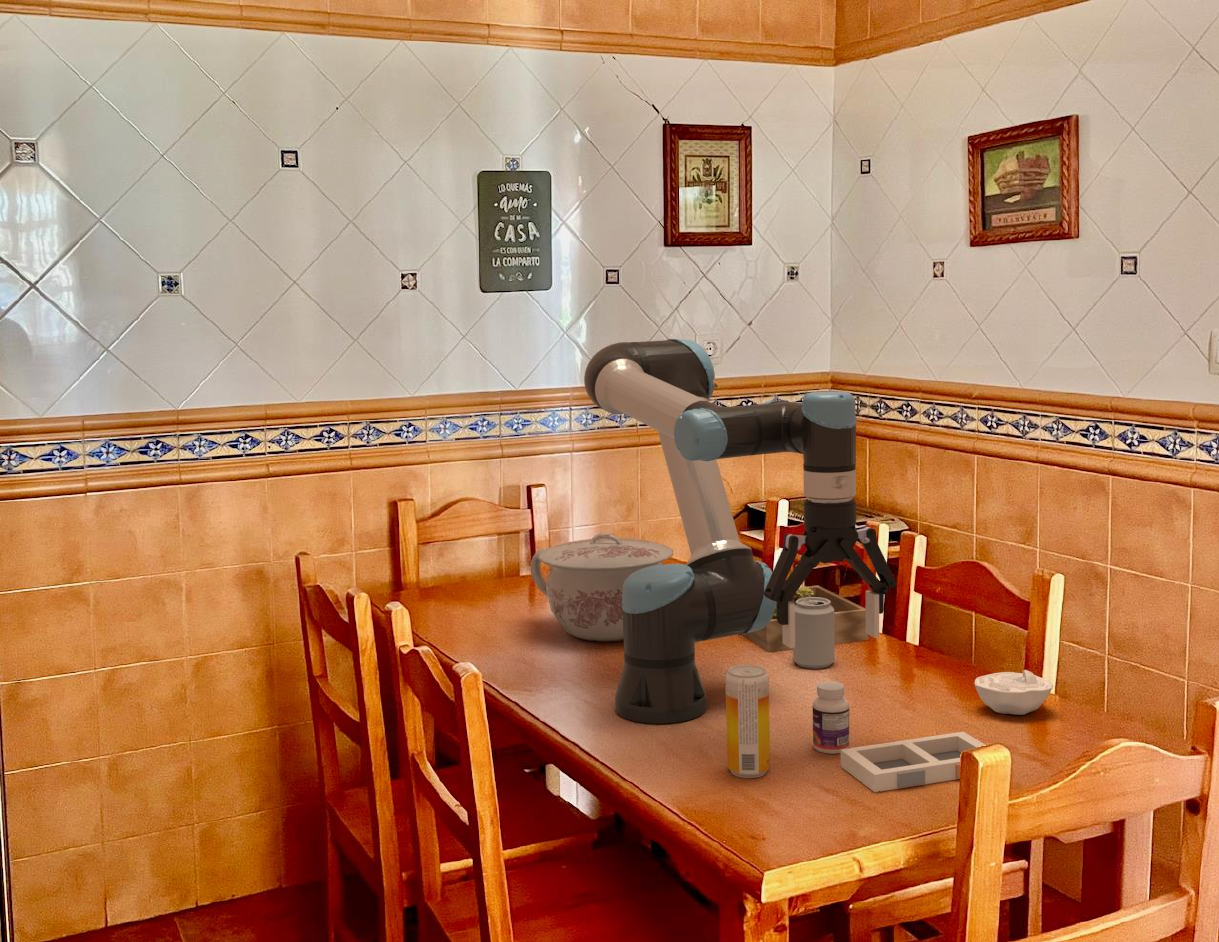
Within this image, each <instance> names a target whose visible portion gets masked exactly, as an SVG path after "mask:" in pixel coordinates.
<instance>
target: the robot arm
mask: <svg viewBox="0 0 1219 942" xmlns="http://www.w3.org/2000/svg"><path fill="white" fill-rule="evenodd" d="M715 375H716V374H715V369H714V365H713V362H712V360H711V358H710V356H709V354H708V352H707V351H706V349H705V348H704V347H703V346H702V345H700V344H699V343H698V342H695V341H693V340H691V339H677V338H670V339H669V338H668V339H666V340H650V341H648V340H647V341H645V340H644V341H630V342H627V341H624V342H615V343H612V344H609V345H607V346H604V347H603V348H601V349H599V350H598V352H596V353H595V354H593V356H592V357H591V359H590V360H589V362H588V364H587V366H586V368H585V371H584V375H583V376H584V377H583V378H584V379H583V380H584V381H583V382H584V383H583V384H584V388H585V391H586V394H587V396H588V398H589V399H590V400H591V402H592V403H594V405H595V406H597V407H598V408H600V409H601V410H603V411H605V412H607V413H609V414H612V415H626V416H629V417H630V418H632V419H634V420H636V421H638V422H640V423H642V424H644V425H645V426H648V427H649V428H652V429H653V430H656V431H657V432H658V433H657V434H658V436H659V437H658V438H659V441H660V446H661V448H662V452H663V455H664V459H665V462H666V467H667V471H668V474H669V477H670V478H669V479H670V481H671V486H672V489H673V494H674V495H675V500H676V504H677V507H678V510H679V515H680V518H681V522H682V525H683V529H684V533H685V536H686V540H687V544H688V547H689V551H690V557H689V559H688V560H687V562H686V563H685V564H681V563H668V564H663V563H661V565H655V566H650V567H646V568H643V569H640V570H638V571H636V572H634V573H632V574H631V575H629V576H628V578H627V579H626V580H625V581H624V584H623V593H622V603H621V606H622V609H623V636H624V640H623V657H624V662H623V663H624V664H623V668H622V672H621V675H620V677H619V678H620V679H619V681H618V684H617V689H616V692H615V697H614V704H615V705H614V707H615V708H614V709H615V712H616V714H617V715H618V716H620V717H622V718H624V719H627V720H629V721H633V722H637V723H643V724H644V723H645V724H675V723H680V722H686V721H690V720H692V719H696V718H699V716H701V715H703V714H704V713H705V712H706V711H707V710H708V709H707V706H708V705H707V701H708V700H707V693H706V690H705V687H704V684H703V682H702V678H701V676H700V674H699V670H698V667H697V664H696V653H695V648H696V647H695V643H699V642H705V641H710V640H716V639H721V638H727V637H734V636H744V635H745V634H747V633H749V632H754V631H758V630H761V629H763V628H764V627H765V626H767V625H768V623H769V622H770V621H771V619H772V617H773V615H774V610H775V608H776V603H777V621H778V623H779V624H781V625H782V635H783V644H784V645H786V646H788V647H789V648H795V604H794V603H792V602H790V600H791V599H792V597H793V596H794V594H795V593H796V592H797V590H798V589H799V587H802V586H803V584H804V582H805V581H806V579H807V578H808V576H809V575H810V573H811V572H812V571H813V569H814V568H817V567H818V565H819V564H820V563H822V564H830V563H832V562H837V563H839V562H844V560H846V561H847V562H848V564H849V565H850V566H851V567H852V568H853V569H854V571H855V572H856V573H857V574H858V575H859V577H860V578H862V580H863V582H864V583H866V585H867V587H869V588H870V589H871V590H865V609H866V634H868V635H869V636H870V637H872V638H875V639H877V638H880V615H882V614H883V613H884V611H885V595H887V594H888V593H889V590H890V589H893V588H896V587H897V582H896V579H895V577H894V575H893V573H892V570H891V568H890V566H889V564H888V562H887V560H886V558H885V556H884V554H883V552H882V549H881V548H880V546H879V543H878V538H877V531H876V529H875V528H872V527H869V526H867V525H864V526H862V527H861V529H857V528H856V524H857V502H856V500H855V499H854V497H855V496H856V495H857V467H856V464H857V423H858V419H857V415H856V402H855V401H856V399H855V397H854V396H853V394H851V393H850V392H847V391H835V390H833V391H831V390H829V391H828V390H826V391H824V390H823V391H812V392H807V393H806V394H804V396H803V397H802V402H801V403H800V402H794V401H793V402H792V401H789V400H787V399H786V400H784V399H781V400H768V401H765V402H763V403H761V404H760V403H759V404H750V405H749V404H748V405H737V406H734V405H733V406H721V405H717V404H715V403H714V402H710V401H709V400H710V399H711V397H712V395H713V394H714V392H715V386H716V383H715V382H714V379H715V378H716V376H715ZM779 453H794V454H799V455H803V456H802V458H803V464H802V465H803V468H802V469H803V495H804V497H806V499H805V500H804V501H803V523H804V525H803V526H804V532H803V534H802V535H800V534H799V535H798V534H797V535H795V534H792V533H788V532H787V533H785V534H784V536H783V544H782V550H781V551H780V555H779V556H778V558H777V562H776V564H775V566H774V569H773V571H772V569H771V568H770V567H769V565H767V564H766V563H765V562H763V561H760V560H755V557H754V555H753V551H752V548H751V547H750V546H749V545H746V544H744V543H743V542H742V541H741V540H740V537H739V534H738V529H737V527H736V524H735V520H734V517H733V514H732V509H731V506H730V503H729V500H728V496H727V492H726V487H725V484H724V481H723V477H722V475H721V470H720V467H719V463H718V460H721V459H722V460H725V459H731V458H739V457H740V458H741V457H748V456H760V455H768V454H779ZM858 539H859V540H858ZM858 541H859V542H860V543H861V544H862V545H863V548H864V550H865V552H866V554H867V555H868V559H869V560H870V562H871V564H872V565H873V568H874V570H875V572H876V574H877V576H876V574H874V572H873V571H872V570H871V568H869V567H868V565H867V564H866V563H865V562H864V561H863V559H862V557H861V556H860V555H859V553H858V552H857V551H856V550H855V548H854V547H855V545H856V544H857V542H858ZM802 545H803V546H804V547H805V548H806V549H805V551H803V553H802V555H801V556H800V560H799V562H798V563H797V564H796V566H795V567H794V568H793V570H792V567H793V564H794V562H795V560H796V557H797V554H798V551H799V550H801V549H802ZM791 570H792V571H791ZM790 571H791V572H790Z"/></svg>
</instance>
